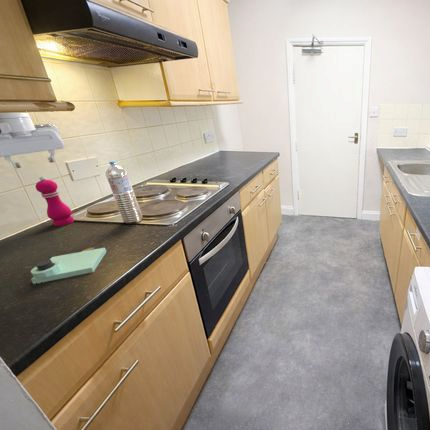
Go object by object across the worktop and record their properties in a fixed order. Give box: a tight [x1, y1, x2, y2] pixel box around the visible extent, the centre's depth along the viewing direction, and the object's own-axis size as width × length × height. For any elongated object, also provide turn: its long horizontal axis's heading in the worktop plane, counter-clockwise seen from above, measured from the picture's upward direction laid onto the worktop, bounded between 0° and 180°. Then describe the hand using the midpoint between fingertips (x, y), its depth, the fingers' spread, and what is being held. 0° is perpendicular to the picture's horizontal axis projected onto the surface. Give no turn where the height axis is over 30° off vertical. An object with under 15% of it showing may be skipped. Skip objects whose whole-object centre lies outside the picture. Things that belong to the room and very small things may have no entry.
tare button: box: [35, 259, 54, 271], centre depth 76 cm, size 3×3×2 cm
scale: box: [30, 247, 108, 285], centre depth 81 cm, size 14×13×4 cm
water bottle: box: [104, 160, 144, 225], centre depth 105 cm, size 7×7×25 cm
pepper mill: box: [35, 175, 75, 227], centre depth 106 cm, size 7×7×20 cm
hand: (35, 164), depth 99 cm, fingers open, 8 cm apart
